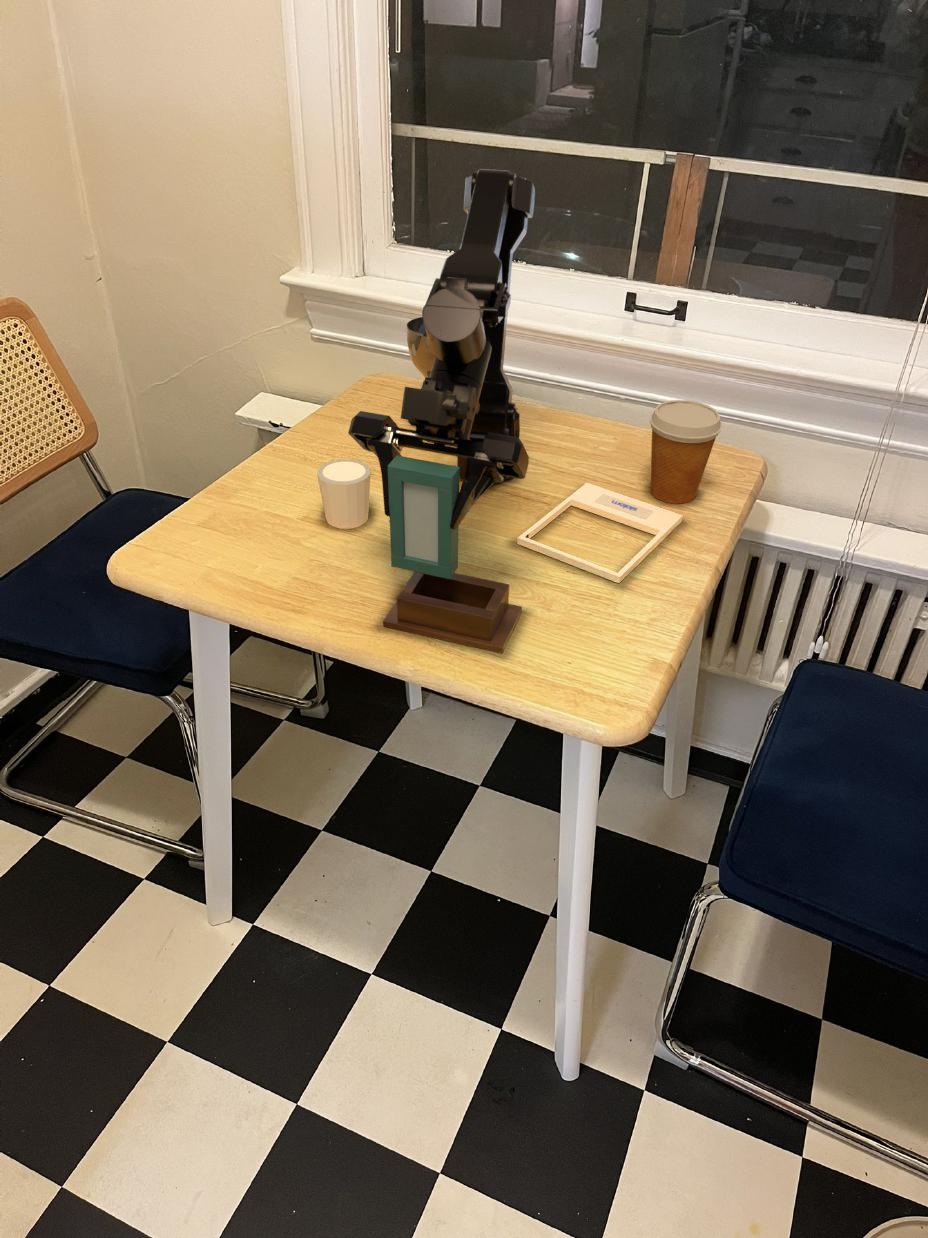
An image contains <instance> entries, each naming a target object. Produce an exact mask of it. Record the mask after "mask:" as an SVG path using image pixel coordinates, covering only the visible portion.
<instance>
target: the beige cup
mask: <svg viewBox="0 0 928 1238" xmlns="http://www.w3.org/2000/svg"><path fill="white" fill-rule="evenodd" d="M371 472H372V470H371V467H369V465H368V464H366V463H365V462H363V461H361V460H356V459H352V458H351V459H348V458H347V459H345V458H340V459H336V460H334V459H333V460H330V461H328V462H325V463H323V464H322V465H321V466H320V467H319V468H317V472H316V475H317V480H318V481H317V482H318V486H319V491H320V496H321V501H322V505H323V506H322V507H323V511H324V517H325V521H326V523H327V524H328V525H329V526H331V527H333V528H337V529H342V530H350V529H356V528H358V527H361V526H364V525H365V524H366V523H367V521H368V520H369V511H370V491H371V474H372V473H371Z"/></svg>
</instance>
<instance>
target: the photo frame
mask: <svg viewBox="0 0 928 1238" xmlns="http://www.w3.org/2000/svg"><path fill="white" fill-rule="evenodd" d="M571 506H572V507H575V508H577V509H580V510H583V511H586V512H588V513H589V512H590V513H591V514H595V515H598V516H600V517H603V518H606V519H608V520H612V521H613V522H617V523H620V524H622V525H625V526H629V527H630V528H634V529H637V530H640V531H642V532H645V533H648V534H651V535H654V537H653V538H652V539H651V540H650V541H649V542H648V543H647V544H646V545H644V546H643V547H642V548H641V549H640V551H639V552H637V554H635V556H633V557H632V558H631V559H630V560H629V561H628V562H627V563H626V564H625V565H624V566H623V567H622V568H621V569H620V570H619V571H618V572H617V571H614V570H611V569H609V568H607V567H604V566H601V565H599V564H596V563H593V562H590V561H588V560H585V559H583V558H581V557H579V556H575V555H573V554H570V553H568V552H565V551H562V550H559V549H557V548H555V547H551V546H549V545H547V544H544V543H541V542H539V541H536V540H534V539H531V538H533V537H534V536H535V535H536V534H538V533H539V532H540V531H542V529H544V528H545V527H546V526H547V525H549V524H550V523H551V522H552V521H554V520H555V519H556V518H557V517H559V516H560V515H561V514H562V513H563V512H565V511H566V510H567V509H569V508H570V507H571ZM683 517H684V515H683V514H681V513H677V512H674V511H672V510H668V509H665V508H663V507H659V506H657V505H654V504H651V503H648V502H645V501H642V500H639V499H636V498H633V497H630V496H627V495H626V494H625V495H624V494H622V493H619V492H617V491H612V490H610V489H607V488H603V487H601V486H598V485H595V484H592V483H589V482H586V483H584V484H583V485H582V486H581V487H580V488H578V489H577V490H576V491H575V492H573V493H572V494H571V495H569V496H568V497H567V498H566V499H564V500H563V501H562V502H560V503H559V504H558V505H556V507H554V508H553V509H552V510H551V511H549V512H548V513H547V514H545V515H544V516H542V518H540V519H539V520H537V522H535V523H534V524H533V525H531V526H530V527H528V529H527V530H525V531H524V532H523V533H521V534H520V535H519V536H517V540H516V545H519V546H522V547H525V548H527V549H530V550H531V551H535V552H537V553H540V554H543V555H544V556H548V557H550V558H552V559H554V560H557V561H561V562H563V563H566V564H567V565H570V566H573V567H576V568H578V569H581V570H583V571H586V572H588V573H590V574H594V575H596V576H598V577H601V578H604V579H606V580H609V581H611V582H615V583H616V584H620V583H621V582H622V581H624V579H625V578H627V576H628V575H629V574H630V573H631V572H633V570H634V569H635V568H636V567H638V565H639V564H640V563H641V562H642V561H643V560H644V559H646V558H647V556H648V555H650V554H651V552H652V551H654V550H655V548H657V547H658V546H659V545H660V544H661V543H662V542H663V541H664V540H665V539H666V538H667V537H668V536H669V535H670V534H671V533H672V532H673V531H674V530H675V529H676V528H677V527H678V526H679V525H680V524H681V523H682V522H683Z"/></svg>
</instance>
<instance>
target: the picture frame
mask: <svg viewBox="0 0 928 1238" xmlns="http://www.w3.org/2000/svg"><path fill="white" fill-rule="evenodd" d="M460 479H461V477H460V467H458V466H457V465H453V464H447V463H441V462H435V461H430V460H425V459H419V458H414V457H408V456H404V455H403V456H402V455H401V456H398V455H397V456H396V457H395V458H394V459H393V460H392V461H391V463H390V464H389V465H388V488H389V509H390V517H389V538H390V539H389V541H390V542H389V543H390V567H392V568H396V569H401V570H405V571H410V572H413V573H414V572H419V573H423V574H428V575H433V576H437V577H442V578H447V579H451V578H452V576H453V575H454V573H456V572H457V570H458V569H459V533H460V531H459V529H460V524H459V525H458V527H457V528H456V529H455V530H454V529H451V528H450V522H451V518H452V513H453V510H454V507H455V504H456V501H457V498H458V495H459V492H460Z"/></svg>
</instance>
